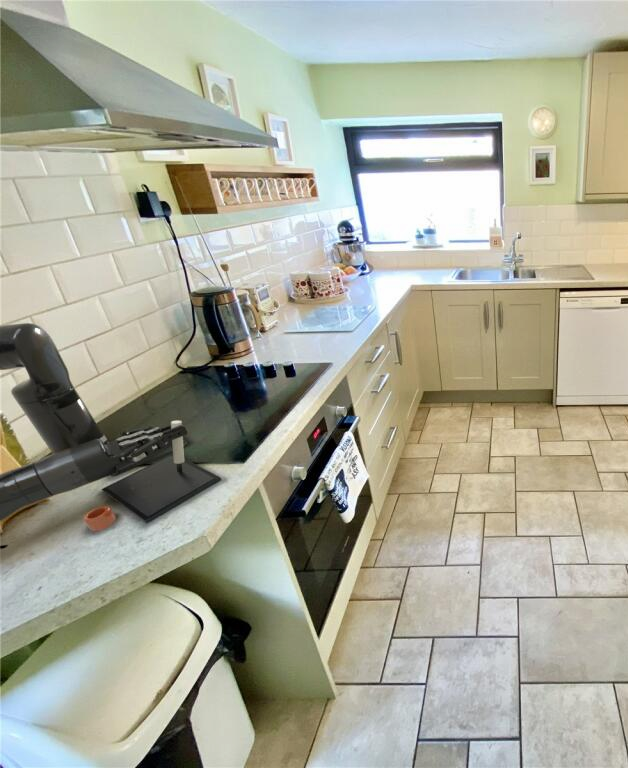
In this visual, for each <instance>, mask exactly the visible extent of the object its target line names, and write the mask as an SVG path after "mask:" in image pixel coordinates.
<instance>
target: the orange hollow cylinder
mask: <svg viewBox="0 0 628 768" xmlns="http://www.w3.org/2000/svg"><path fill="white" fill-rule="evenodd" d="M82 521H83V522H84V523H85V525H86V526H87V528H88V529H89V530H90V531H91V532H98V531H99V532H100V531H102V530H104V529H106V528H109V527H110V526H111V525H113V524H114V523H115V522H116V521H117V516H116V515H115V513H114V512H113V511H112V509H111V508H110V506H108V505H101V506H98V507H95V508H93V509H91V510H89V511H88V512H86V513H85V514H84V515H83V517H82Z"/></svg>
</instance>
